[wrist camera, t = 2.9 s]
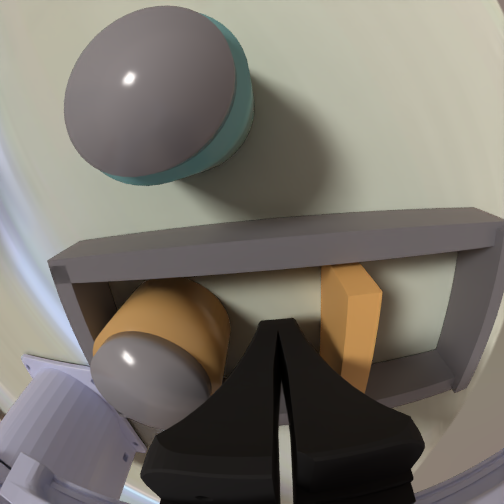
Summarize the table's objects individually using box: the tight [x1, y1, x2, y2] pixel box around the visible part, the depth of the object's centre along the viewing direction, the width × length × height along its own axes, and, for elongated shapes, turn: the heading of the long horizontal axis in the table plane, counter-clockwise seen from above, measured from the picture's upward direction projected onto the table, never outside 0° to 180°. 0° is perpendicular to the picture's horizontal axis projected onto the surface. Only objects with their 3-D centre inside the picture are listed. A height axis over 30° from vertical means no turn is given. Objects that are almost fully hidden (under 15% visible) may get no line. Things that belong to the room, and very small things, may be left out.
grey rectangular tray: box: [48, 207, 504, 426], centre depth 10 cm, size 9×18×3 cm, turn 96°
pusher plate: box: [320, 262, 382, 394], centre depth 10 cm, size 6×1×4 cm, turn 6°
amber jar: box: [90, 277, 231, 430], centre depth 10 cm, size 5×5×4 cm
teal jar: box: [64, 6, 255, 186], centre depth 7 cm, size 5×5×4 cm
